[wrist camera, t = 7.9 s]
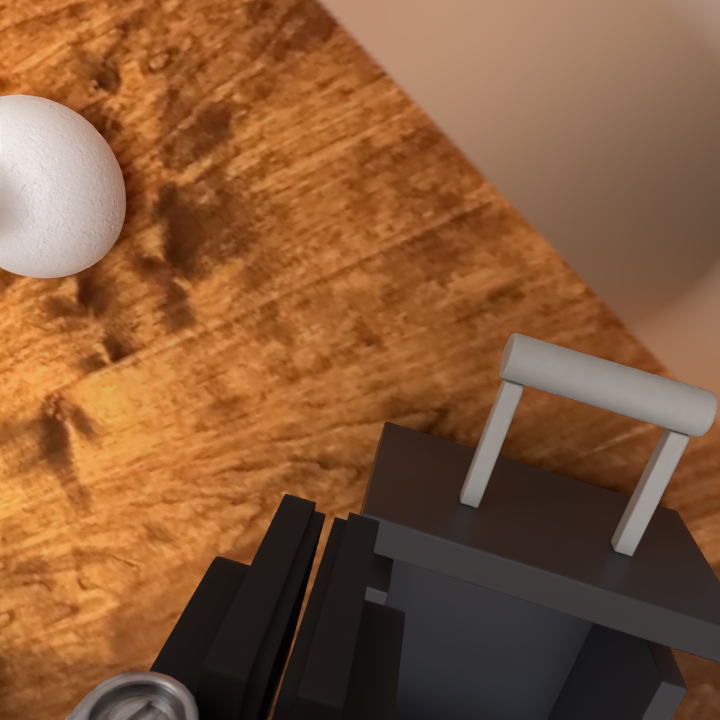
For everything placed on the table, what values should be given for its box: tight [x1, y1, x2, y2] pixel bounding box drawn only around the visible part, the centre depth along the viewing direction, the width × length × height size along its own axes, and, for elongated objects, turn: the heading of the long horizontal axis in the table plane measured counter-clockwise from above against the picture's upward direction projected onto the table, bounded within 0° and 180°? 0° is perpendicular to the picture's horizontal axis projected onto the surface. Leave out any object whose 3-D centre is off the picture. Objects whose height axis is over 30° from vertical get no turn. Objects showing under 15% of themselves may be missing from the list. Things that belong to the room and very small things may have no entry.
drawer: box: [360, 333, 720, 720], centre depth 24 cm, size 20×11×7 cm, turn 165°
